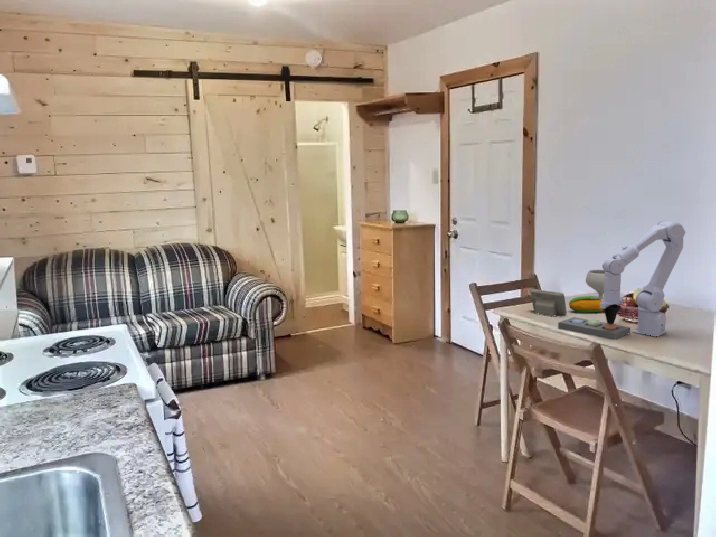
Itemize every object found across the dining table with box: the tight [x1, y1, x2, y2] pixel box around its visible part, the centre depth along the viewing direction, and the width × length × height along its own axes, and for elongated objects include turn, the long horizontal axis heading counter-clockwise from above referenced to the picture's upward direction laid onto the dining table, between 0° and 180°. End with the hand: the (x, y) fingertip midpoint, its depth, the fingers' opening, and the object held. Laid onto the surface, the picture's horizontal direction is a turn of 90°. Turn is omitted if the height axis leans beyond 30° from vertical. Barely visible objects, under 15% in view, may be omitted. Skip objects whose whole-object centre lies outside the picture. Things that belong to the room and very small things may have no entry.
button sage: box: [587, 319, 601, 327], centre depth 247 cm, size 4×4×2 cm
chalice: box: [585, 269, 605, 299], centre depth 295 cm, size 14×14×15 cm
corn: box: [568, 295, 604, 314], centre depth 278 cm, size 7×8×20 cm
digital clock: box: [530, 288, 567, 317], centre depth 277 cm, size 16×9×11 cm, turn 34°
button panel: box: [557, 316, 631, 340], centre depth 247 cm, size 24×12×2 cm, turn 41°
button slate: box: [572, 319, 583, 324], centre depth 253 cm, size 4×4×2 cm
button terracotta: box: [604, 322, 618, 330], centre depth 242 cm, size 4×4×2 cm
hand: (610, 323), depth 242 cm, fingers closed
